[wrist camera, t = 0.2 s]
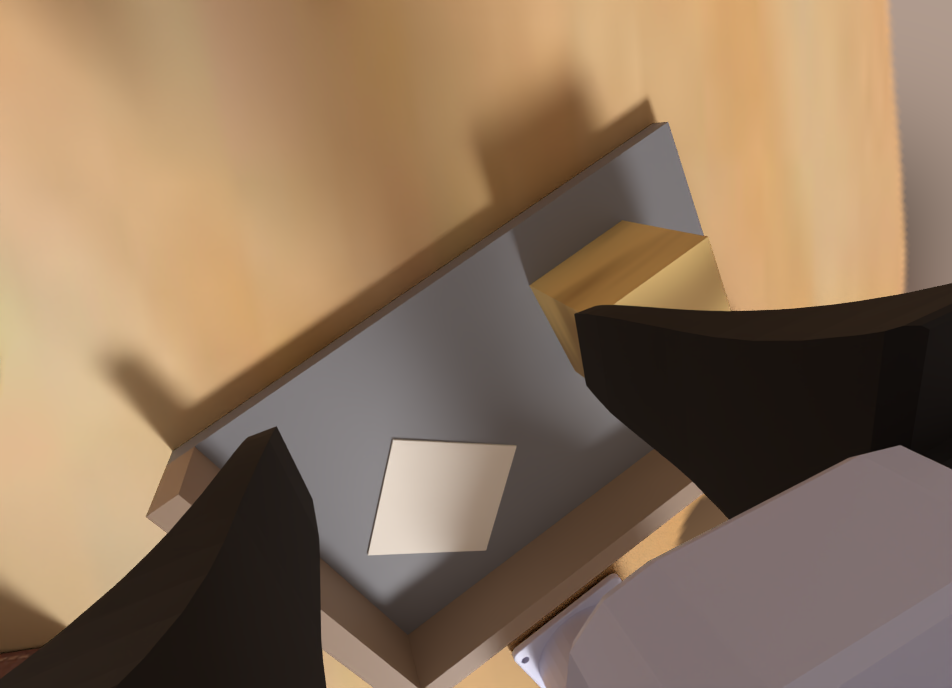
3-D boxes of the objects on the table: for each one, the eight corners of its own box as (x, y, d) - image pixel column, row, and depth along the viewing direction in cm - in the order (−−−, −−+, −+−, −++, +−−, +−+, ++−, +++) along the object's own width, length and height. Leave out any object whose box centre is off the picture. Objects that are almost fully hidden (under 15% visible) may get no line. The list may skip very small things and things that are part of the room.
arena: (738, 385, 29) (801, 417, 25) (397, 643, 27) (413, 717, 23) (652, 123, 21) (723, 116, 18) (172, 451, 19) (145, 516, 16)
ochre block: (658, 310, 24) (741, 345, 19) (575, 370, 23) (641, 420, 19) (622, 220, 21) (708, 236, 17) (529, 285, 21) (592, 319, 17)
